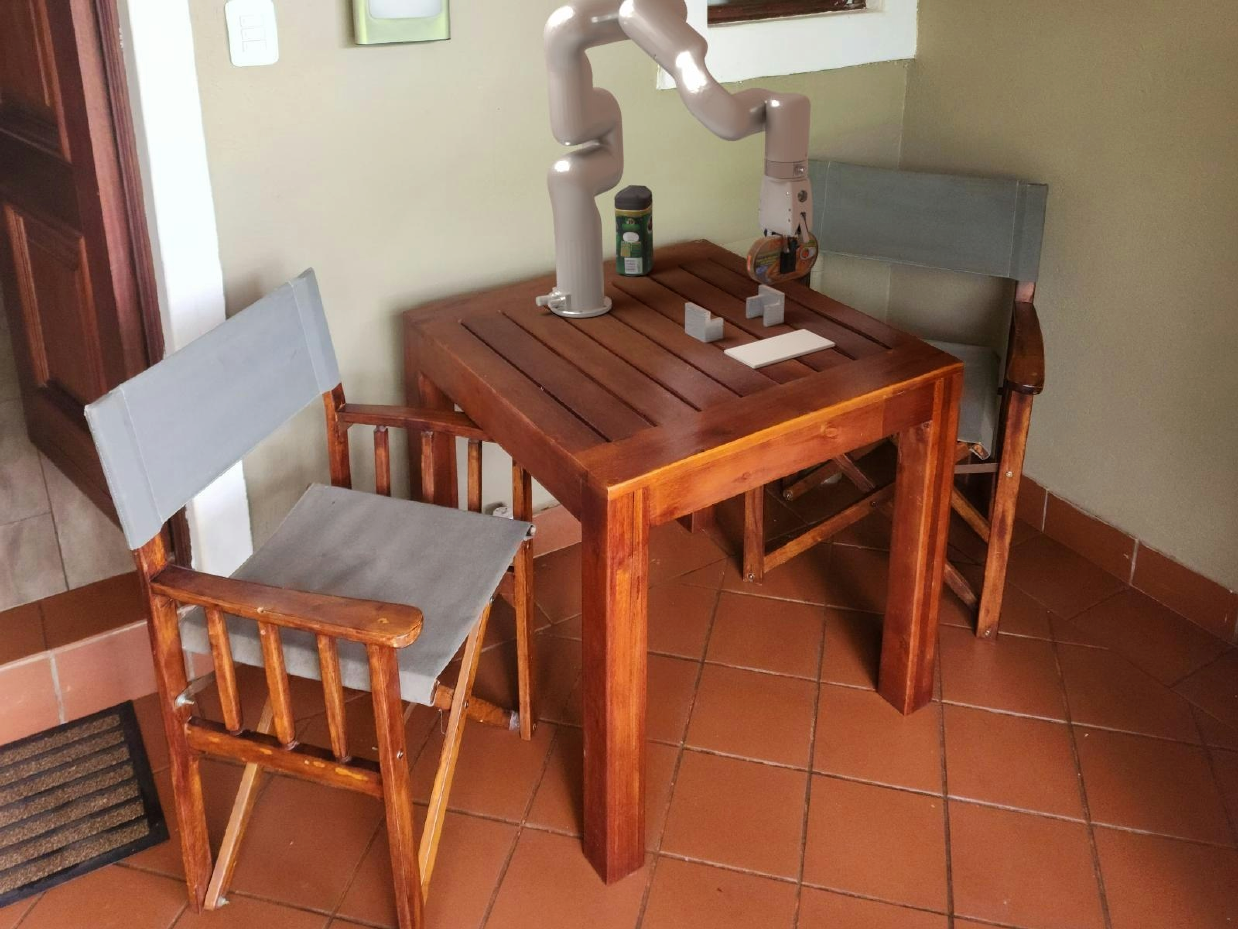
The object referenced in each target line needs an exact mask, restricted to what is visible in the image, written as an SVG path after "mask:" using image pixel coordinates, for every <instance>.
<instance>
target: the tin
mask: <svg viewBox="0 0 1238 929" xmlns="http://www.w3.org/2000/svg"><path fill="white" fill-rule="evenodd" d="M808 237H809V242H808V243H805V244H802V245H801V246H800V247H799V250H798V251H796V270H795V271H794V272H791V273H787V274H781V273H780V254H781V252H783V235H781V234H777V233H776V235H771V236H767V237H765V236H764V237H761V238H759V239H757V240H756V241H755V242H754V243H753V244H752V245H751V246H750V248H749V250H748V252H747V255H746V270H747V274H748V276H749V277H750V278H751V279H753V281H756V282H759V283H760V285H763V284H764V285H766V286H770V285H774V284H778V283H780V282H781V283H783V282H784V281H789V280H793V279H797V278H800V277H804V276H805V275H807V274H808V273H809V272H810V271H811V270H812V269H813V268H814V266H815V264H816V262H817V260H818V256H819V250H820V248H819V242H818V240H817V238H816V236H815V235H814V234H813V233H812V232H811V233H808ZM792 240H793V238H791V239H790V242H791V241H792Z"/></svg>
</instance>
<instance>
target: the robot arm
mask: <svg viewBox="0 0 1238 929" xmlns="http://www.w3.org/2000/svg"><path fill="white" fill-rule="evenodd" d="M688 14H689V13H688V6H687V2H686V1H685V0H572V1H569V2H566V3H565V4H563V5H561V6H559V7H558V8H557V9H555V10H554V11H553V12H552V13H551V14H550V15H549V17H548V19H547V20H546V23H545V25H544V28H543V36H542V41H543V42H542V44H543V53H544V58H545V64H546V65H545V66H546V72H547V73H546V74H547V75H546V76H547V92H548V93H547V94H548V106H549V119H550V128H551V133H552V136H553V138H554V139H555V140H556V142H557V143H558V144H561V145H563V146H565V147H573V146H574V147H575V146H578V145H581V147H582V148H578V149H576V150H572V151H570V152H568V153H565V154H562V155H561V156H559V157H558V158H556V159H555V160H554V161H553V162H552V163H551V165H550V167H549V168H548V170H547V171H548V172H547V174H546V182H547V183H546V185H547V190H548V196H549V199H550V203H551V208H552V218H553V232H554V247H555V248H554V249H555V251H554V252H555V268H556V269H555V270H556V271H555V272H556V286H554V287H552V291H551V292H549V294H547V295H546V294H545V295H540V296H539V295H538V296H536V297H535V302H536V303H535V304H536V305H537V307H541V306H546V305H548V307H549V308H550V310H551V311H552V313H555V314H556V315H558V316H561V317H565V318H566V317H567V318H577V319H579V318H580V319H581V318H583V319H584V318H592V317H596V316H600V315H603V314H605V313H608V312H609V311H610V310H611V309H612V306H613V303H612V299H611V298H610V297H608V296H607V295H605V294H604V293H605V292H604V291H605V288H604V285H605V284H604V257H603V256H604V255H603V254H604V253H603V252H604V251H603V224H602V222H603V221H602V218H601V217H602V216H601V213H600V210H599V208H598V206H597V204H596V199H595V198H596V197H598V196H599V195H602V194H603V193H607V192H608V191H611V190H613V189H615V187H617V186H618V185H619V183H620V182H621V179H622V178H623V175H624V174H623V173H624V169H625V168H624V167H625V165H624V164H625V163H624V161H625V160H624V137H623V136H624V135H623V134H624V132H623V117H622V111H621V107H620V105H619V101H618V100H617V98H616V97H615V96H614V94H613V93H611V92H610V91H609V90H607V89H606V88H603V87H598V86H594V82H593V79H594V78H593V77H594V75H593V69H592V64H591V62H590V59H589V56H588V55H587V53H586V50H588V49H592V48H594V47H599V46H604V45H609V44H613V43H617V42H622V41H629V40H630V41H632V42H633V43H635V45H637V46H638V47H639V49H641V50H642V51H644V52H645V53H646V54H647V55H648V57H650V59H652V60H653V61H654V62H655V63H657V64H658V66H659V67H661V68H662V69H663V70H664V71H665V72H667V73H666V74H669V76H670V77H672V79H673V80H674V82H675V83H674V84H675V88H676V89H677V92H678V95H679V96H680V98H681V100H682V102H683V104H684V106H685V108H686V109H687V110H688V111H689V113H690V114H691V115H692V116H693V117H694V118H695V119H696V120H698V122H699V123H700V124H702V125H703V127H705V128H706V129H707V130H708V131H709V132H711V133H712V134H713V135H714V136H716V137H718V138H719V139H722V140H724V141H727V142H737V141H740V140H742V139H745V138H747V137H750V136H753V135H756V134H759V133H762V132H764V133H765V134H764V160H763V161H764V163H763V175H762V177H761V183H760V184H761V185H760V191H759V198H758V199H759V200H758V224H757V225H758V228H759V229H760V231H761V232H762V233H763V235H764V237H767V236H771V235H776V234H781V235H783V252H781V254H780V273H781V274H787V273H791V272H794V271H795V270H796V251H798V250H799V247H800V246H801V245H802V244H805V243H808V242H809V237H808V233H811V234H812V230H813V215H814V214H813V192H812V186H811V179H810V178H809V177H808V174H809V150H810V149H809V147H810V131H811V130H810V129H811V128H810V125H811V111H812V110H811V108H812V106H811V100H810V99H809V97H808V96H806V95H805V94H801V93H795V92H794V93H793V92H790V93H789V92H786V93H785V92H783V93H779V92H777V91H773V90H770V89H766V88H761V87H752V88H747V89H745V90H741V91H737V92H734V93H733V94H732V93H730V92H729V91H728V90H727V89H726V88H724V86H723V85H722V84H721V83H719V82H718V81H717V79H715V78H714V77H713V75H712V74H711V72H710V71H709V70H708V68H707V65H706V61H705V60H706V56H707V54H708V50H709V44H708V42H707V40H706V38H705V37H704V36H703V35H702V34H700V33H699V32H698V31H697V30H696V29H695V28H694V27H693V26H691V25H690V24H689V23H688V22H687V20H688ZM791 238H793V240H792V241H791V242H790V239H791Z"/></svg>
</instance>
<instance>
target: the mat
mask: <svg viewBox="0 0 1238 929" xmlns="http://www.w3.org/2000/svg"><path fill="white" fill-rule="evenodd" d="M833 347H836V343H835V342H833V341H832V340H829V339H827V338H824V337H822V336H820V335H818V334H816V333H814V332H811V331H810V330H807V329H805V328H803V329H798V330H794V331H791V332H787V333H784V334H779V335H775V336H772V337H769V338H764V339H760V340H757V341H754V342H753V341H752V342H750V343H746V344H742V345H739V346H738V345H737V346H735V347H731V348H727V349H725V350H723V351H724V352H723V353H724V354H725V355H727V356H728V357H731V358H733V359H735V360H736V361H738V362H740V363H742V364H744V365H747V366H748V367H750V368H752V369H758V368H762V367H765V366H769V365H772V364H776V363H780V362H783V361H788V360H790V359H793V358H797V357H800V356H805V355H807V354H812V353H815V352H819V351H822V350H826V349H828V348H833Z"/></svg>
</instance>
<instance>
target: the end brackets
mask: <svg viewBox="0 0 1238 929" xmlns="http://www.w3.org/2000/svg"><path fill="white" fill-rule="evenodd" d="M784 314H785V292H782V291H780V290H777V289H775V288H773V287H771V286H770V285H764V284H760V285H758V295H757V294H756V295H754V296H749V297H746V302H745V318H747V319H753V318H756V317H760V316H762V317H763V326H764V327H766V328H767V327H770V326H776V325H778V324H783V323H784V320H785V319H784ZM684 319H685V320H684V333H685V334H687V335H689V336H690V337H693V338H695V339H696V340H699V341H701V342H702V343H704V344H707V343H709V342H710V343H711V342H714V341H717V340H721V339H723V338H724V336H723V334H724V318H722V317H720V316H719V317H716V318H711V311H710V310H707V309H706V308H703V307H702V306H699V305H697V304H695V303H693V302H692V301H691V302H685V303H684Z"/></svg>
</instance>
